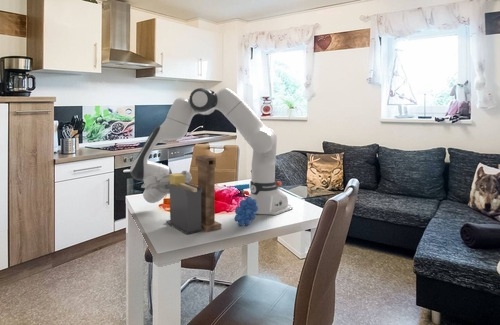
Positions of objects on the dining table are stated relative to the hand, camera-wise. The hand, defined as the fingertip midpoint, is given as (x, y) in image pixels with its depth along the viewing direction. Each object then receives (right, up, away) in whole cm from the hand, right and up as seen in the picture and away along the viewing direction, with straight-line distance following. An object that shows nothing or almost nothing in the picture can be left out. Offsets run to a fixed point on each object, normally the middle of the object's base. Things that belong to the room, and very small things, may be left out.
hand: (175, 173), depth 150 cm
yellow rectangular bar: (+5, -6, -5) cm, 9 cm away
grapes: (+29, -22, +2) cm, 36 cm away
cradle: (+4, -22, -2) cm, 22 cm away
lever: (+25, -13, +58) cm, 64 cm away
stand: (+13, -22, -1) cm, 25 cm away
